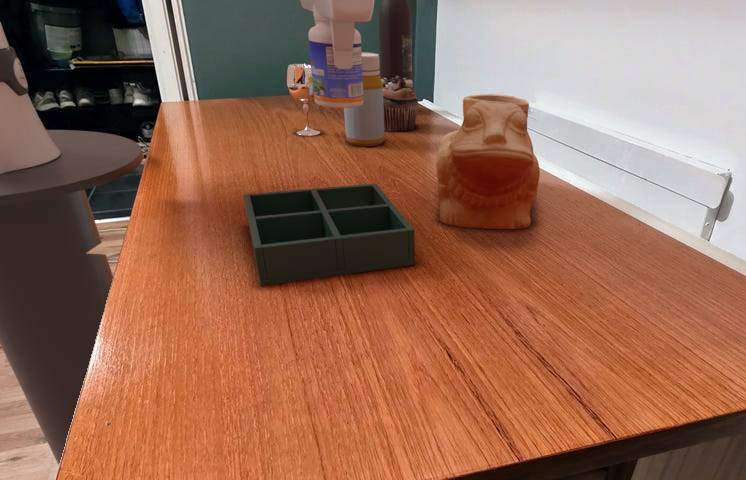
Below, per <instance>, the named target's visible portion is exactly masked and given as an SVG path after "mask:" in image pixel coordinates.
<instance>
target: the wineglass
mask: <svg viewBox="0 0 746 480" xmlns="http://www.w3.org/2000/svg"><path fill="white" fill-rule="evenodd" d="M286 87H287V92H288V94H289V95H290V97H291V98H292V99H293V100H295V101H297V102H300V103H302V104H303V105H302V110H303V112H304V117H305V128H304V129H302V130H301V129H300V130H298V131H296V135H298V136H304V137H313V136H318V135H320V134H321V131H319V130H317V129H314V128H311V126H310V122H309V110H310V109H309V105H308V103H310V102H314V101H315V100H314V92H313V81H312V70H311V64H307V63H293V64H292V63H291V64H288V65H287V70H286Z"/></svg>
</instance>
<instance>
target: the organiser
mask: <svg viewBox="0 0 746 480" xmlns="http://www.w3.org/2000/svg"><path fill="white" fill-rule="evenodd" d="M242 196H243V201H244V206H245V212H246V218H247V223H248V229H249V234H250V238H251V239H250V240H251V245H252V249H253V254H254V260H255V264H256V270H257V275H258V279H259V286H260V287H265V286H266V287H267V286H275V285H280V284H281V285H282V284H286V283H294V282H302V281H308V280H309V281H310V280H316V279H317V280H318V279H323V278H331V277H337V276H344V275H345V276H346V275H352V274H358V273H364V272H365V273H366V272H374V271H380V270H387V269H394V268H395V269H396V268H401V267H408V266H414V265H416V257H415V256H416V250H415V249H416V247H415V244H416V241H415V240H416V239H415V236H416V235H415V228H414V227H413V226H412V225H411V223H410V222H409V221H408V220H407V218H405V216H404V215H403V214H402V213H401V211H399V209H398V208H397V207H396V205H395V204H394V202H392V200H391V199H390V198H389V197H388V196H387V194H386V193H385V192H384V191H383V190H382V189H381V187H380V185H378V184H377V183H365V184H353V185H342V186H341V185H339V186H329V187H317V188H305V189H293V190H292V189H291V190H281V191H279V190H277V191H266V192H254V193H244V194H243V195H242Z"/></svg>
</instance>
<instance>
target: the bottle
mask: <svg viewBox="0 0 746 480" xmlns="http://www.w3.org/2000/svg"><path fill="white" fill-rule="evenodd" d="M362 76H363V97H364V101H363V104H362V105H360V106H357V107H352V108H343V115H344V127H345V128H344V129H345V130H344V131H345V139H346V140H347V142H348V143H349V144H350V145H353V146H356V147H374V146H375V147H376V146H380V145H381V144H382V143H383V142H384V141H385V130H384V108H383V86H382V81H381V78H380V77H381V70H380V54H379V53H374V52H367V51H366V52H364V51H362Z"/></svg>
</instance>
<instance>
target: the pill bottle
mask: <svg viewBox="0 0 746 480" xmlns="http://www.w3.org/2000/svg"><path fill="white" fill-rule="evenodd" d="M312 13H313V18H314V20H315V19H316V20H317V24H316V26H315V25H314V26H311V28H310V29H309V30H308V34H307V35H308V44H309V45H308V46H309V58H310V65H311V70H312V81H313V92H314V100H313V101H314V102H315V104H316V105H318V106H319V107H325V108H332V109H333V108H334V109H344V108H352V107H357V106H360V105H362V104H363V101H364V97H363V76H362V52H363V51H362V36H361V33H360V32H359V30H357V29H356V28H355V34H354V42H353V49H352V57H353V66H352V68H351V69H338V68H337V67H335V66H334V65H333V61H332V49H331V48H333V45H332V31H331V29H330V18H328V17H325V16H322V15H320V14H318V13H317V11H316V9H315V6H314V4H313V12H312Z"/></svg>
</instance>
